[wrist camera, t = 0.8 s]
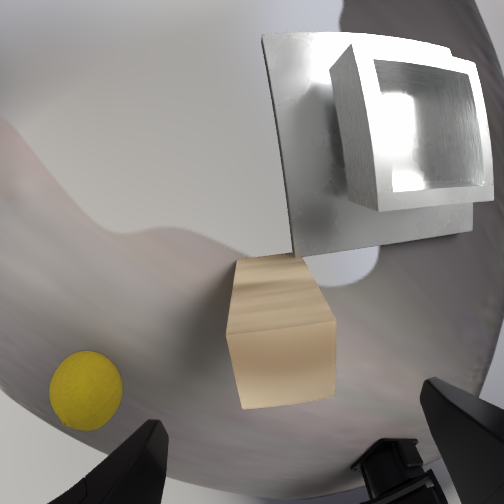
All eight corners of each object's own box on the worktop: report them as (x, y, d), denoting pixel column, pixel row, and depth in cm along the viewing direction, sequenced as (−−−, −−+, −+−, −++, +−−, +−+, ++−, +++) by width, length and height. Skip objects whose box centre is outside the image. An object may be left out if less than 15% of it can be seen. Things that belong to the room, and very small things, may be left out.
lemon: (143, 385, 22) (114, 454, 14) (93, 383, 22) (57, 442, 14) (121, 332, 20) (75, 398, 13) (69, 333, 21) (20, 388, 13)
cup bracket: (463, 227, 18) (519, 249, 12) (292, 252, 19) (312, 293, 12) (440, 52, 14) (491, 28, 8) (261, 42, 15) (265, -12, 9)
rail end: (303, 306, 20) (334, 397, 11) (245, 314, 20) (242, 409, 11) (298, 251, 19) (336, 319, 10) (237, 259, 19) (225, 334, 10)
